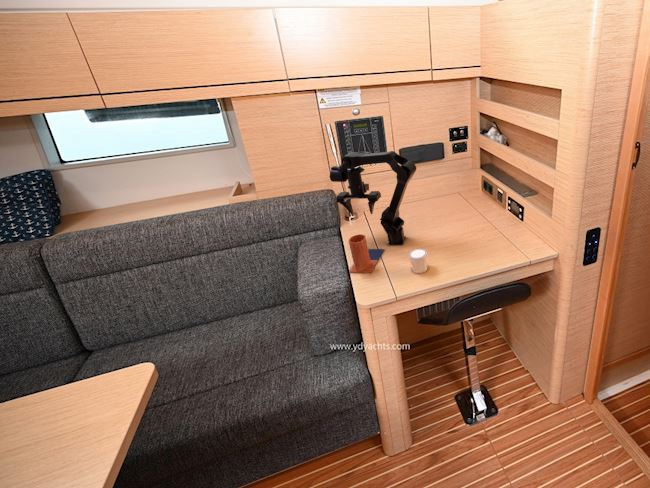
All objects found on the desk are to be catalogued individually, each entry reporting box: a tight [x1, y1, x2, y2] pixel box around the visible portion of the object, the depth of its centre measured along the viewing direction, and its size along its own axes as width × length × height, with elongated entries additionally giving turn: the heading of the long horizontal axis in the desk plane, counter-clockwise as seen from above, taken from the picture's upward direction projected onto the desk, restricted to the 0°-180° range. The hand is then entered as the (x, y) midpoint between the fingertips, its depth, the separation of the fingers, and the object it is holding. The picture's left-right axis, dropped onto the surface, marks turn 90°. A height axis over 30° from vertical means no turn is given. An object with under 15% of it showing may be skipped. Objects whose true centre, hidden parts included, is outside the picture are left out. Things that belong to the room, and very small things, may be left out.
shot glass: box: [408, 248, 428, 274], centre depth 128 cm, size 7×7×7 cm
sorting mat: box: [349, 248, 385, 274], centre depth 138 cm, size 9×16×1 cm, turn 172°
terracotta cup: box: [348, 234, 371, 271], centre depth 131 cm, size 6×6×13 cm
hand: (362, 214), depth 150 cm, fingers open, 9 cm apart
